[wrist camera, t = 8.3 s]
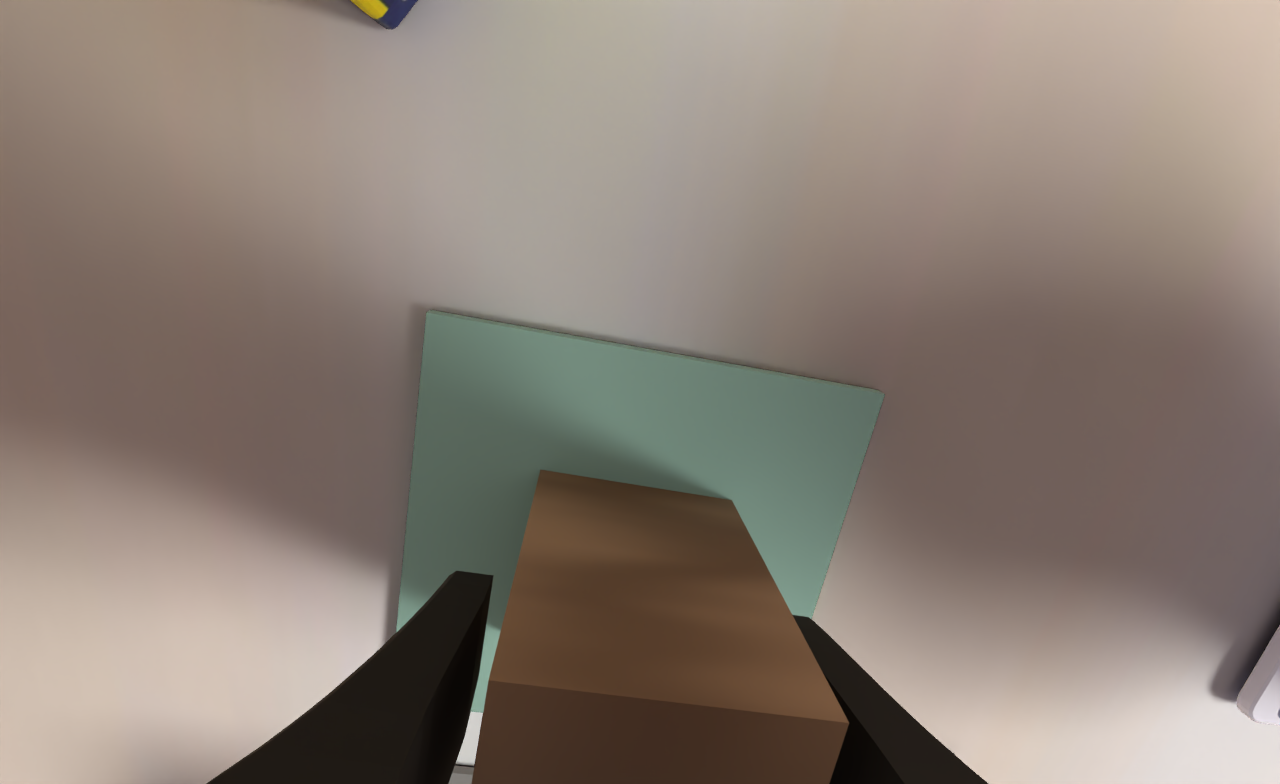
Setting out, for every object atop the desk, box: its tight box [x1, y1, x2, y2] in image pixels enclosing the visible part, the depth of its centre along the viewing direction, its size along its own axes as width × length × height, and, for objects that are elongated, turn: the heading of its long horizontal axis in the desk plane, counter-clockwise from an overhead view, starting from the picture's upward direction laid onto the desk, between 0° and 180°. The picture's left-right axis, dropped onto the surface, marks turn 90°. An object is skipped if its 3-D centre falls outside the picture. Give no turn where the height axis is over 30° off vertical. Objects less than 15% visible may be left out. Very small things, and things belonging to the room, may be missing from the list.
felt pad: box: [396, 310, 885, 713], centre depth 13 cm, size 9×9×1 cm
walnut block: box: [471, 469, 849, 784], centre depth 10 cm, size 4×4×6 cm
